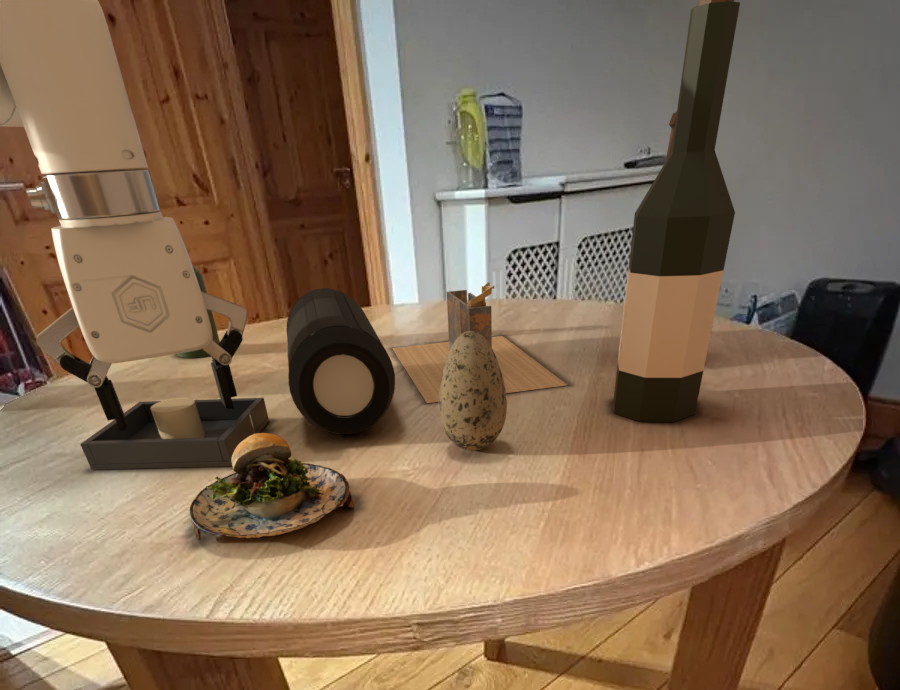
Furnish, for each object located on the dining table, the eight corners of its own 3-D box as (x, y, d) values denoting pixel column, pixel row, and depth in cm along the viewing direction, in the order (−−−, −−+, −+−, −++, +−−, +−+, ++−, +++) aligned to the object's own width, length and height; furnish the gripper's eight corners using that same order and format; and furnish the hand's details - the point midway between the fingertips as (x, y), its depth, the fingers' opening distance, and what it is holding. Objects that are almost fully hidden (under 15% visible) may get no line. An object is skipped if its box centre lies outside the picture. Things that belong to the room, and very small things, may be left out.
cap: (153, 444, 58) (140, 410, 56) (181, 429, 60) (170, 396, 58) (186, 448, 56) (174, 413, 54) (213, 433, 59) (203, 399, 57)
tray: (91, 469, 55) (79, 444, 53) (147, 424, 64) (139, 401, 62) (232, 466, 54) (224, 439, 52) (269, 421, 63) (263, 397, 61)
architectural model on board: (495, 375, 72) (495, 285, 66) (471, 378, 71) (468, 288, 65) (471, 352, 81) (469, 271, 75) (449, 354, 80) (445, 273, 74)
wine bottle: (682, 428, 56) (770, -32, 38) (597, 415, 59) (640, -8, 41) (705, 401, 61) (792, -12, 43) (626, 390, 65) (675, 7, 47)
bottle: (169, 358, 86) (130, 234, 77) (187, 347, 91) (152, 229, 82) (212, 357, 85) (177, 232, 76) (228, 345, 90) (197, 227, 81)
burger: (171, 560, 41) (131, 458, 37) (222, 484, 51) (195, 396, 46) (342, 552, 41) (323, 449, 36) (362, 477, 50) (348, 388, 46)
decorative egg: (519, 450, 53) (522, 331, 47) (464, 467, 51) (459, 344, 45) (482, 430, 58) (480, 319, 52) (429, 446, 55) (420, 331, 49)
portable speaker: (295, 375, 76) (278, 288, 70) (372, 366, 77) (361, 280, 71) (301, 451, 56) (277, 337, 50) (404, 437, 57) (393, 325, 51)
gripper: (-28, 213, 41) (77, 448, 51) (226, 194, 47) (275, 408, 57) (-15, 209, 47) (78, 422, 57) (211, 192, 52) (258, 388, 63)
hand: (177, 415), depth 57 cm, fingers open, 9 cm apart
